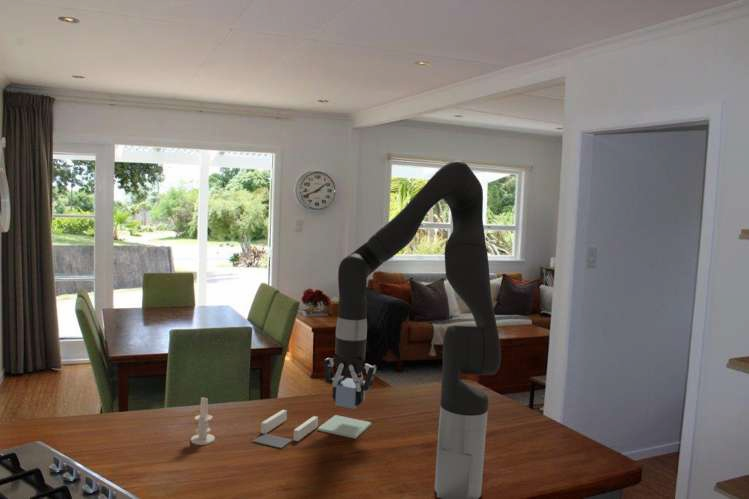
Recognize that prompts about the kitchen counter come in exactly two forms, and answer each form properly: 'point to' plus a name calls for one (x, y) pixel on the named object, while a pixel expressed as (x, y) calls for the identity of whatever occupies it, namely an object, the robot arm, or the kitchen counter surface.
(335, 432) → the tile
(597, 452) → the kitchen counter surface
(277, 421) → the channel
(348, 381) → the block
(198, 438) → the white ringed tapered column
